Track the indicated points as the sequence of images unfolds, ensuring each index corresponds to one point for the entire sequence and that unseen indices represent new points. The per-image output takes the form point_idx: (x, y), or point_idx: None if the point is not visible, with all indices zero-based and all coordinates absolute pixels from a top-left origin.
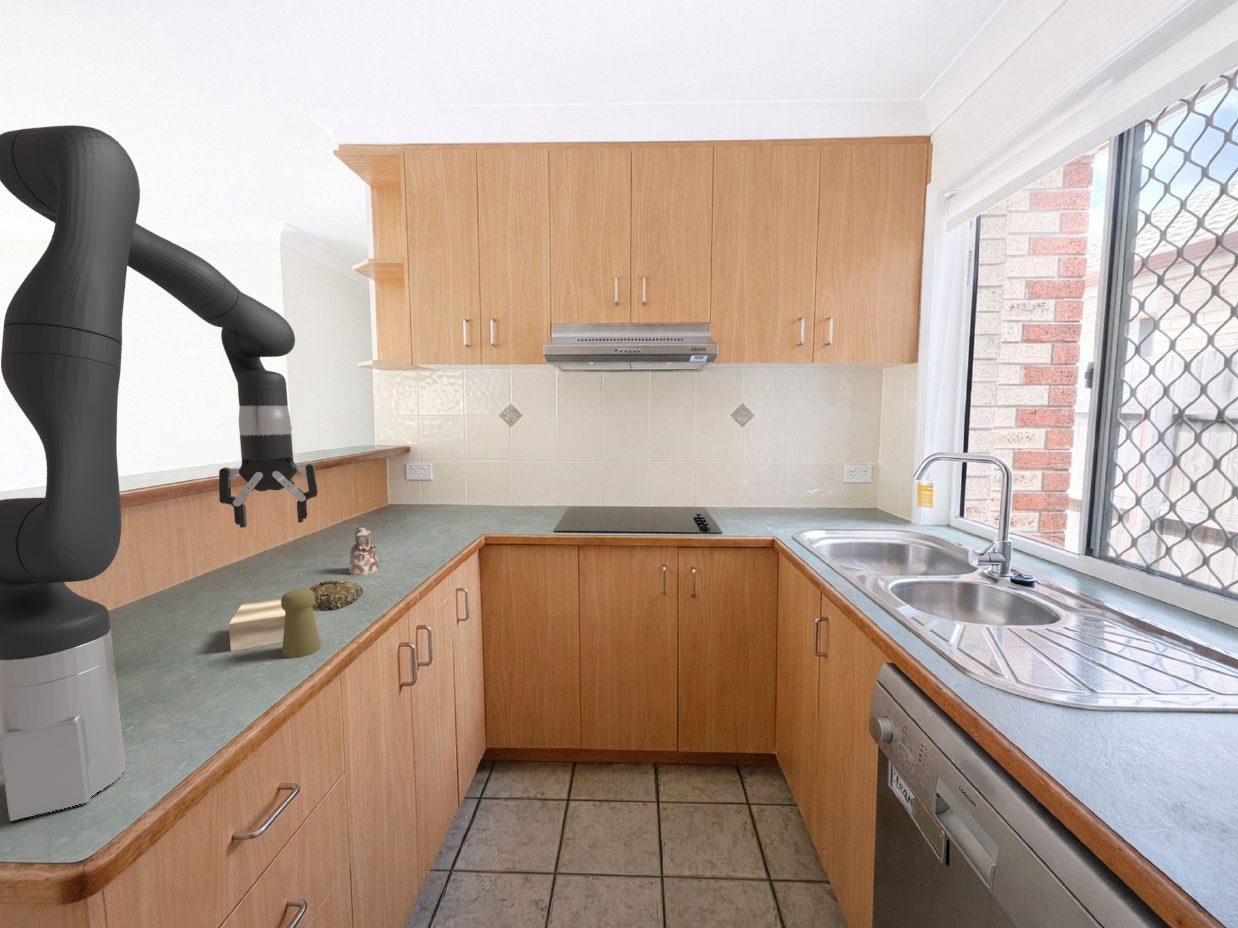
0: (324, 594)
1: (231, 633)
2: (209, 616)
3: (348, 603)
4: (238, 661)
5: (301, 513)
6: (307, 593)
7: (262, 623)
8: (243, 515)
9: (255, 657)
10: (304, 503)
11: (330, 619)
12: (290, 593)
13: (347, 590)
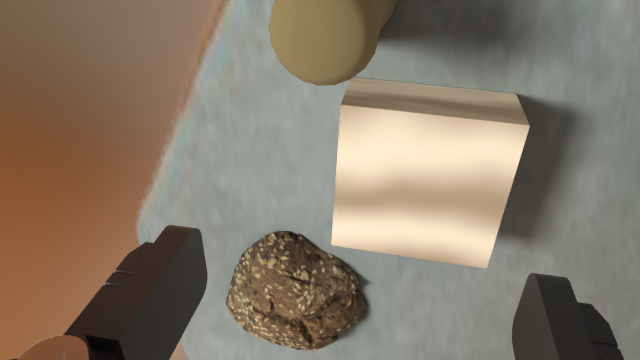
0: (299, 282)
1: (519, 112)
2: None
3: (254, 243)
4: (503, 4)
5: (142, 262)
6: (284, 4)
7: (440, 109)
8: (556, 341)
9: (462, 9)
10: (76, 330)
11: (290, 174)
12: (341, 22)
13: (248, 280)
